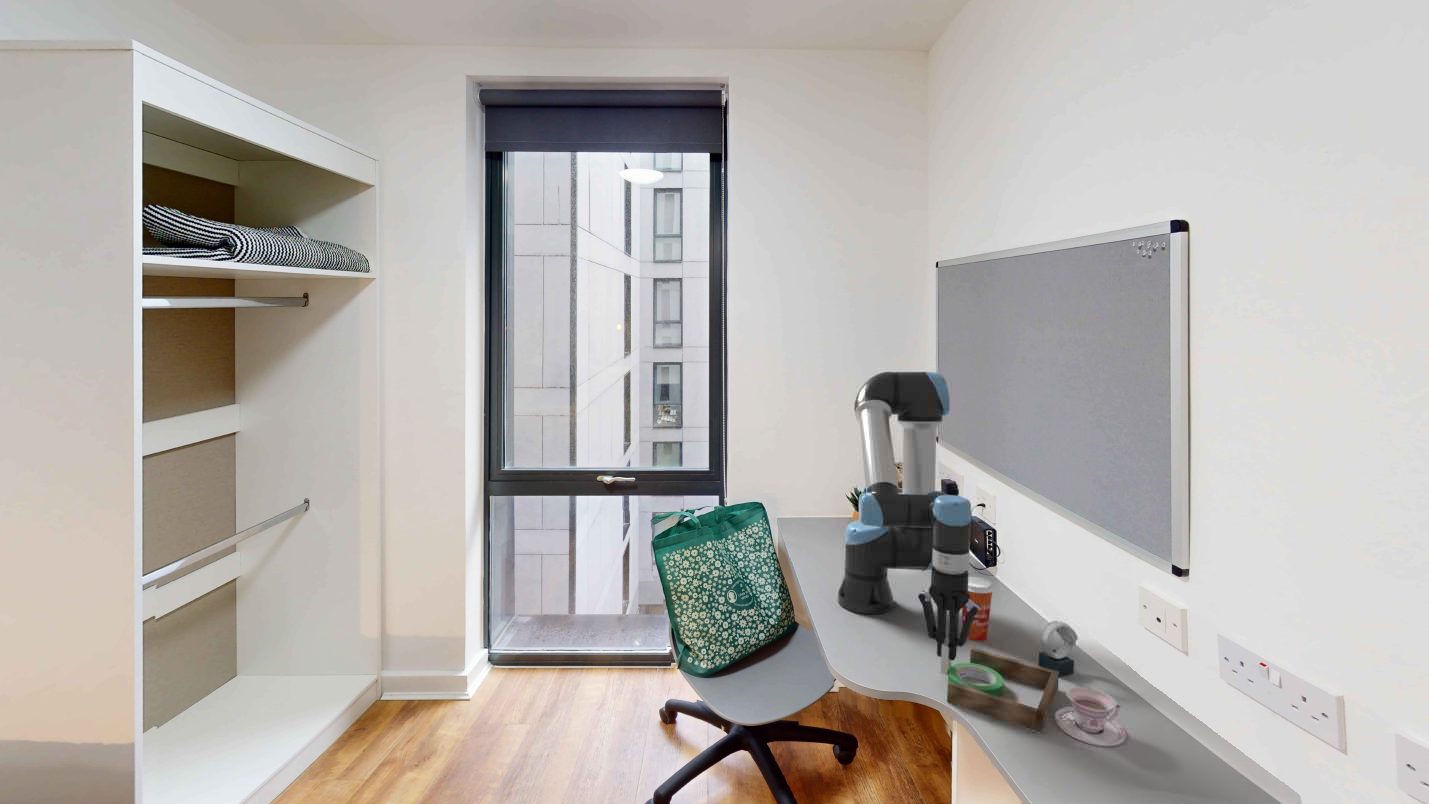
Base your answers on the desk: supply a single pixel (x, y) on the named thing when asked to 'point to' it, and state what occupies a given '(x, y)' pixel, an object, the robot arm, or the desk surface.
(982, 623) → the paper cup
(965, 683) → the tape roll
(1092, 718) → the teacup
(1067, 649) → the watch
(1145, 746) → the desk surface
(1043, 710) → the u-shaped wooden frame
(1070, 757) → the desk surface
